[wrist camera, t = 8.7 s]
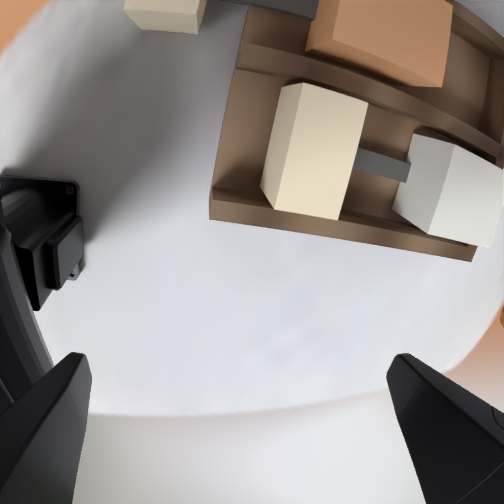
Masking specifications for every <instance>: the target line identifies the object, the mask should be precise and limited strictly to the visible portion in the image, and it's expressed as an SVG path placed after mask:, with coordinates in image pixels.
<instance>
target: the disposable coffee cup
mask: <svg viewBox="0 0 504 504" xmlns="http://www.w3.org/2000/svg"><path fill="white" fill-rule="evenodd" d="M500 322H501V324H502V325H503V327H504V307H503V309H502V312H501V317H500Z"/></svg>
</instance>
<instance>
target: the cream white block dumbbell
mask: <svg viewBox="0 0 504 504" xmlns="http://www.w3.org/2000/svg"><path fill="white" fill-rule="evenodd" d="M367 107H368V103H367V102H365V101H362V100H359V99H356V98H353V97H350V96H347V95H344V94H341V93H338V92H334V91H331V90H328V89H324V88H321V87H318V86H314V85H310V84H307V83H299V84H294V85H289V86H284V87H281V92H280V96H279V101H278V105H277V110H276V114H275V119H274V123H273V128H272V133H271V137H270V142H269V146H268V151H267V155H266V160H265V164H264V169H263V174H262V178H261V183H260V187H261V189H262V191H263V192H264V194H265V195H266V197H267V199H268V200H269V202H270V203H271V205H272V207H273V208H274V209H275V210H281V211H287V212H293V213H299V214H305V215H310V216H316V217H321V218H327V219H333V220H338V217H339V214H340V210H341V207H342V203H343V200H344V196H345V193H346V189H347V186H348V182H349V178H350V175H351V171H352V168H354V169H358V170H361V171H365V172H369V173H372V174H376V175H379V176H383V177H386V178H390V179H393V180H397V181H400V184H399V187H398V190H397V194H396V197H395V200H394V203H393V207H392V210H394V211H395V212H397V213H398V214H400V215H401V216H403V217H404V218H406V219H407V220H408V221H410V222H411V223H413V224H414V225H416V226H417V227H418V228H420V229H421V230H423V231H424V232H425V233H427V234H430V235H435V236H439V237H443V238H447V239H451V240H456V241H460V242H464V243H468V244H472V245H476V246H480V247H484V248H488V249H489V247H490V244H491V242H492V239H493V237H494V234H495V231H496V229H497V226H498V223H499V220H500V217H501V214H502V211H503V208H504V170H502V169H500V168H499V167H497V166H495V165H493V164H492V163H490V162H488V161H486V160H484V159H482V158H480V157H479V156H477V155H475V154H473V153H471V152H469V151H467V150H465V149H463V148H461V147H459V146H457V145H455V144H451V143H448V142H444V141H441V140H437V139H433V138H429V137H425V136H421V135H417V134H413V136H412V140H411V144H410V148H409V152H408V155H407V159H406V162H403V161H400V160H397V159H394V158H391V157H388V156H385V155H382V154H378V153H375V152H372V151H369V150H365V149H362V148H359V147H358V144H359V140H360V136H361V132H362V128H363V124H364V120H365V115H366V111H367Z"/></svg>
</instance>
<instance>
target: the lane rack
mask: <svg viewBox="0 0 504 504" xmlns="http://www.w3.org/2000/svg"><path fill="white" fill-rule="evenodd" d="M445 1H446V2H448V3H450V4H451V5H453V11H452V21H451V30H450V39H449V46H448V53H447V60H446V66H445V72H444V78H443V84H442V87H421V86H398V85H396V84H393V83H391V82H389V81H386V80H384V79H381V78H379V77H376V76H374V75H371V74H369V73H366V72H363V71H361V70H358V69H355V68H352V67H350V66H347V65H344V64H341V63H338V62H335V61H332V60H329V59H326V58H323V57H319V56H316V55H313V54H309V53H306V52H305V48H306V44H307V39H308V35H309V30H310V26H311V21H310V20H306V19H303V18H300V17H296V16H292V15H289V14H285V13H281V12H277V11H273V10H269V9H264V8H260V7H255V6H250V5H249V9H248V13H247V17H246V21H245V25H244V29H243V33H242V37H241V42H240V46H239V50H238V55H237V59H236V63H235V68H234V72H233V77H232V82H231V86H230V91H229V96H228V101H227V105H226V110H225V115H224V120H223V125H222V130H221V136H220V141H219V146H218V151H217V157H216V162H215V168H214V173H213V179H212V185H211V190H210V196H209V219H210V220H217V221H224V222H231V223H238V224H245V225H252V226H259V227H266V228H273V229H279V230H286V231H292V232H299V233H305V234H312V235H318V236H324V237H331V238H337V239H343V240H349V241H355V242H361V243H367V244H373V245H379V246H385V247H391V248H396V249H402V250H408V251H414V252H419V253H425V254H430V255H436V256H441V257H447V258H452V259H457V260H463V261H468V262H471V261H472V259H473V256H474V254H475V252H476V249H477V247H478V246H476V245H472V244H468V243H464V242H460V241H456V240H451V239H447V238H443V237H439V236H435V235H430V234H427V233H425V232H424V231H423V230H421V229H420V228H418V227H417V226H416V225H414V224H413V223H411V222H410V221H408V220H407V219H406V218H404V217H403V216H401V215H400V214H398V213H397V212H395V211H394V210H392V207H393V203H394V200H395V197H396V194H397V190H398V187H399V184H400V181H397V180H393V179H390V178H386V177H383V176H379V175H376V174H372V173H369V172H365V171H361V170H358V169H354V168H352V171H351V175H350V178H349V182H348V186H347V189H346V193H345V196H344V200H343V203H342V207H341V210H340V214H339V217H338V220H333V219H327V218H321V217H316V216H310V215H305V214H299V213H293V212H287V211H281V210H275V209H274V208H273V207H272V205H271V203H270V202H269V200H268V199H267V197H266V195H265V194H264V192H263V191H262V189H261V187H260V183H261V178H262V174H263V169H264V164H265V160H266V155H267V151H268V146H269V142H270V137H271V133H272V128H273V123H274V119H275V114H276V110H277V105H278V101H279V96H280V92H281V87H284V86H289V85H294V84H299V83H307V84H310V85H314V86H318V87H321V88H324V89H328V90H331V91H334V92H338V93H341V94H344V95H347V96H350V97H353V98H356V99H359V100H362V101H365V102H367V103H368V107H367V111H366V115H365V120H364V124H363V128H362V132H361V136H360V140H359V144H358V147H359V148H362V149H365V150H369V151H372V152H375V153H378V154H382V155H385V156H388V157H391V158H394V159H397V160H400V161H403V162H406V159H407V155H408V152H409V148H410V144H411V140H412V136H413V134H417V135H421V136H425V137H429V138H433V139H437V140H441V141H444V142H448V143H451V144H455V145H457V146H459V147H461V148H463V149H465V150H467V151H469V152H471V153H473V154H475V155H477V156H479V157H480V158H482V159H484V160H486V161H488V162H490V163H492V164H493V165H495V166H497V167H499V168H500V169H502V170H503V168H504V38H503V37H502V36H501V35H500V34H498V33H497V32H496V31H495V30H494V29H492V28H491V27H490V26H489V25H487V24H486V23H485V22H484V21H482V20H481V19H480V18H478V17H477V16H476V15H474V14H473V13H472V12H470V11H469V10H468V9H466V8H465V7H463V6H462V5H461V4H459V3H458V2H456V1H455V0H445Z"/></svg>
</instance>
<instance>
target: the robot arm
mask: <svg viewBox="0 0 504 504" xmlns="http://www.w3.org/2000/svg"><path fill="white" fill-rule="evenodd" d="M0 182H1V186H0V504H72V501H73V494H74V488H75V482H76V476H77V471H78V465H79V460H80V455H81V450H82V445H83V441H84V436H85V431H86V424H87V415H88V407H89V399H90V391H91V384H92V375H91V371H90V368H89V364H88V360H87V357H86V355H85V354H83V353H76V352H71V353H69V354H68V355H67V356H66V357H65V358H64V359H62V360H61V361H60V362H59V363H58V364H57V365H55V366H54V365H53V361H52V359H51V356H50V354H49V352H48V349H47V347H46V344H45V342H44V339H43V337H42V334H41V332H40V329H39V326H38V324H37V321H36V318H35V315H34V312H33V311H39V310H40V309H41V307H42V306H43V304H44V303H45V301H46V299H47V298H48V296H49V295H50V293H51V292H52V290H56V291H58V290H59V289H60V288H62V286H63V285H64V283H65V281H66V280H76V279H77V278H78V277H79V275H80V259H81V258H82V256H83V219H82V218H81V216H80V215H79V191H80V189H79V185H78V183H77V182H75V181H73V180H62V179H50V178H38V177H24V176H9V175H0ZM69 186H71V187H72V188H73V193H71V192H70V191H69V189H68V188H69ZM72 271H73V272H74V273H75V274H72V273H71V272H72ZM386 378H387V383H388V387H389V390H390V393H391V397H392V401H393V405H394V409H395V413H396V416H397V420H398V423H399V425H400V428H401V431H402V433H403V436H404V439H405V442H406V445H407V448H408V450H409V453H410V456H411V459H412V462H413V465H414V468H415V470H416V474H417V477H418V480H419V483H420V486H421V489H422V492H423V495H424V498H425V502H426V504H504V413H502V412H501V411H499V410H498V409H496V408H494V407H493V406H490V404H488V403H486V402H485V401H483V400H482V399H480V398H479V397H477V396H475V395H474V394H472V393H471V392H469V391H468V390H466V389H464V388H463V387H461V386H460V385H458V384H456V383H455V382H453V381H452V380H450V379H449V378H447V377H445V376H444V375H442V374H441V373H439V372H438V371H436V370H434V369H433V368H431V367H430V366H428V365H426V364H425V363H423V362H422V361H420V360H419V359H417V358H415V357H414V356H412V355H411V354H409V353H403V354H397V355H396V356H395V358H394V359H393V361H392V364H391V366H390V368H389V369H388V372H387V375H386Z"/></svg>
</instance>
